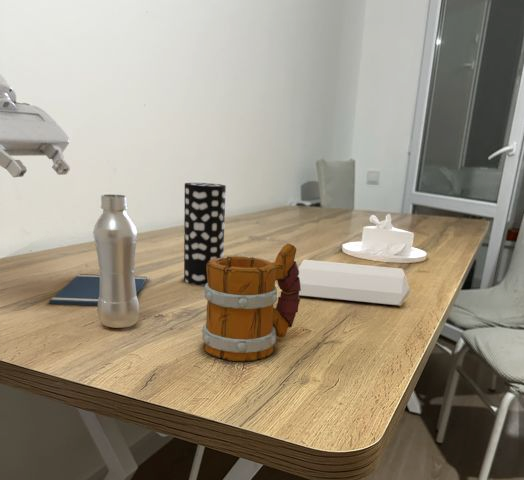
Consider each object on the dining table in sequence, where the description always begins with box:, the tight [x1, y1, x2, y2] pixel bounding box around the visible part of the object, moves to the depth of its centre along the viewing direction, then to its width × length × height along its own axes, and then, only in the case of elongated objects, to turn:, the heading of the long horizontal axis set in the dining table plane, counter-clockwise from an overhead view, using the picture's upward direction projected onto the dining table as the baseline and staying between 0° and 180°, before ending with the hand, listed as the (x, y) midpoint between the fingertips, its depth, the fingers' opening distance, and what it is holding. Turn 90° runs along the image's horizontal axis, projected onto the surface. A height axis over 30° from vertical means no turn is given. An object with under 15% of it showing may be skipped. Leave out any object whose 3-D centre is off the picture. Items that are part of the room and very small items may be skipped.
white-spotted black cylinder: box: [183, 182, 227, 287], centre depth 109 cm, size 8×8×20 cm
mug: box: [201, 243, 301, 362], centre depth 75 cm, size 11×16×15 cm, turn 125°
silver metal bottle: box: [93, 193, 140, 329], centre depth 79 cm, size 6×7×20 cm
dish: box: [341, 213, 428, 264], centre depth 153 cm, size 25×25×11 cm
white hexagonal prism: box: [298, 259, 411, 307], centre depth 105 cm, size 7×7×24 cm
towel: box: [48, 273, 148, 307], centre depth 101 cm, size 14×20×1 cm
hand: (44, 173), depth 78 cm, fingers open, 8 cm apart
